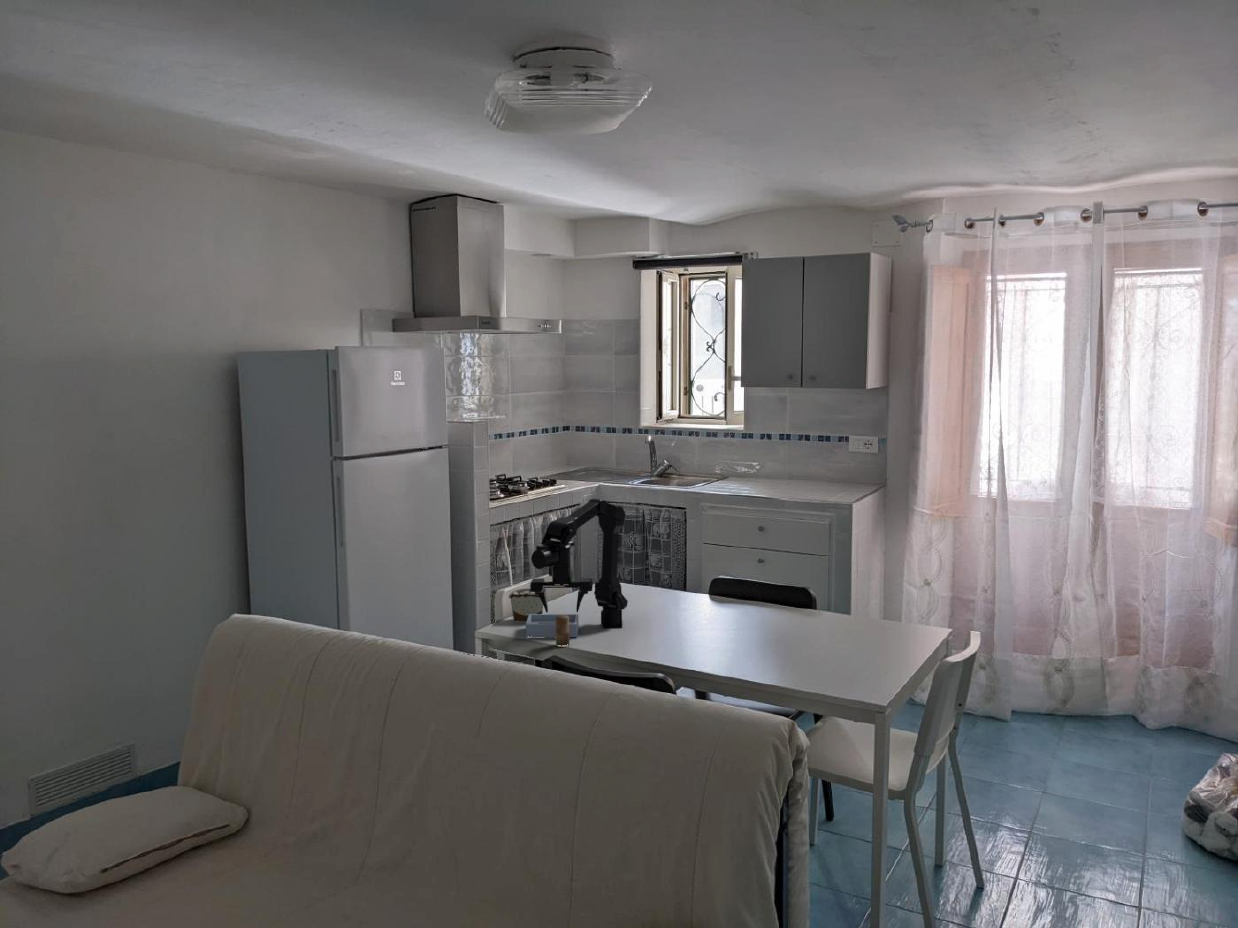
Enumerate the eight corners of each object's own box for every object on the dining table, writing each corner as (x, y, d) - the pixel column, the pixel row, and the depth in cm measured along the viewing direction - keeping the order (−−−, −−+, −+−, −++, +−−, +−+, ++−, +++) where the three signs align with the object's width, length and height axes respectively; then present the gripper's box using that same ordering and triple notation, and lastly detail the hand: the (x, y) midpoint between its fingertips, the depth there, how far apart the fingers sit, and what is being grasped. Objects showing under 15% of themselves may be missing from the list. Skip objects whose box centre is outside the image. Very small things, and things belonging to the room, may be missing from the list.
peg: (569, 643, 294) (569, 614, 293) (568, 647, 290) (568, 618, 289) (556, 643, 294) (556, 614, 293) (555, 647, 290) (555, 618, 289)
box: (578, 627, 310) (578, 613, 309) (576, 637, 299) (576, 624, 298) (529, 627, 310) (529, 614, 309) (526, 638, 299) (525, 624, 298)
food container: (549, 617, 321) (548, 588, 320) (545, 622, 315) (545, 593, 314) (513, 616, 322) (512, 587, 321) (509, 621, 316) (508, 592, 315)
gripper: (592, 555, 296) (593, 604, 299) (533, 556, 297) (534, 604, 299) (591, 564, 285) (592, 614, 287) (529, 565, 286) (530, 615, 288)
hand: (562, 612), depth 291 cm, fingers open, 9 cm apart
